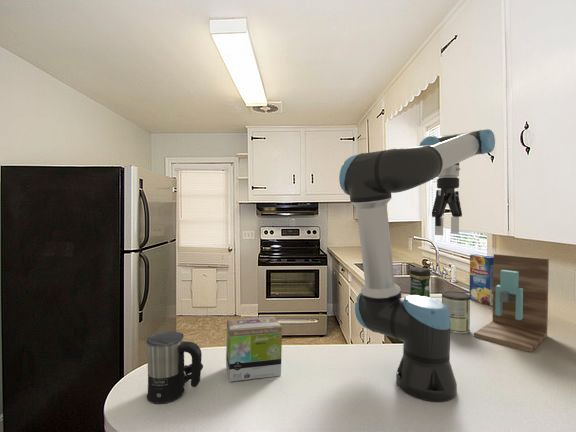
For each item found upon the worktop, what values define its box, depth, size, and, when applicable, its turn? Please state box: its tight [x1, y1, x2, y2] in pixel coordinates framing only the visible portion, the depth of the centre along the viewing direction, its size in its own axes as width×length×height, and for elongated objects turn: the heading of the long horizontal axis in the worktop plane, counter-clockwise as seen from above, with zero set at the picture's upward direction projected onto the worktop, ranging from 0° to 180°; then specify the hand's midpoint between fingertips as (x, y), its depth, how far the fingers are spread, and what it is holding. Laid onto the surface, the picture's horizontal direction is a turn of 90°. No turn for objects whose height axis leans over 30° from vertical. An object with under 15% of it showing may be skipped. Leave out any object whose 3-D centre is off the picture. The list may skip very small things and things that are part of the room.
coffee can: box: [441, 290, 471, 335], centre depth 133 cm, size 10×10×14 cm
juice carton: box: [468, 253, 494, 306], centre depth 173 cm, size 12×8×24 cm, turn 21°
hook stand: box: [473, 253, 550, 353], centre depth 125 cm, size 22×18×30 cm
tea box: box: [225, 316, 283, 383], centre depth 97 cm, size 15×10×15 cm, turn 105°
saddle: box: [495, 270, 523, 320], centre depth 123 cm, size 3×8×17 cm, turn 41°
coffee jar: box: [409, 266, 431, 298], centre depth 168 cm, size 10×8×19 cm
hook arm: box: [500, 291, 516, 303], centre depth 125 cm, size 18×2×4 cm, turn 131°
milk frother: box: [145, 331, 204, 405], centre depth 89 cm, size 14×16×15 cm
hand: (447, 234), depth 124 cm, fingers open, 13 cm apart
